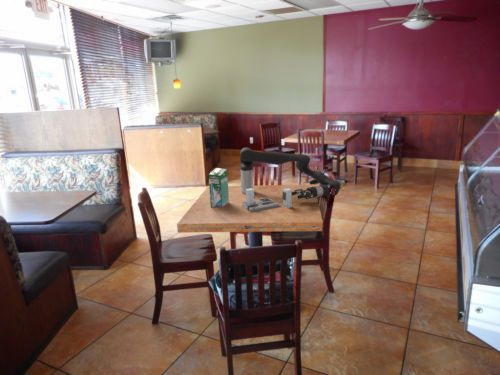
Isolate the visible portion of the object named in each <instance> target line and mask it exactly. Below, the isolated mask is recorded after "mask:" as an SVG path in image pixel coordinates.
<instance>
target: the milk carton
mask: <svg viewBox="0 0 500 375" xmlns="http://www.w3.org/2000/svg"><path fill="white" fill-rule="evenodd" d="M208 186H209V201H210V204H209V205H210V208H215V209H217V208H216V207H220V208H222V207H224V206H226V205H228V204H230V200H229V198H230V197H229V193H230V192H229V175H228V169H227V168H220V167H215V168H214V169H213V170H211V171H210V173H208Z"/></svg>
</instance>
